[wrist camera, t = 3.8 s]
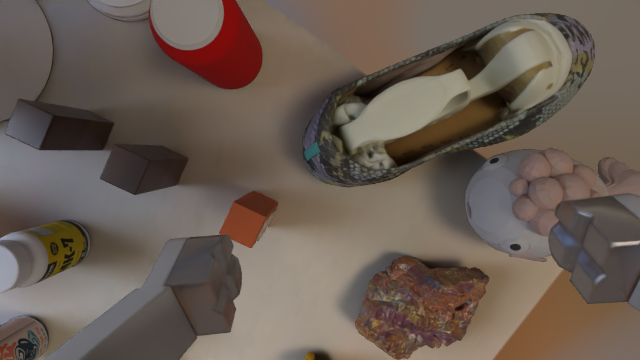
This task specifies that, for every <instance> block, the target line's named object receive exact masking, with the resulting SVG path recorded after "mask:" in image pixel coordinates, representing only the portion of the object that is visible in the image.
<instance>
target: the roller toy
mask: <svg viewBox="0 0 640 360" xmlns="http://www.w3.org/2000/svg"><path fill="white" fill-rule="evenodd" d="M305 360H315V355H314V353H312V352H309V353H307V354H306V357H305Z"/></svg>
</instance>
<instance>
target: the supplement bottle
mask: <svg viewBox="0 0 640 360" xmlns="http://www.w3.org/2000/svg"><path fill="white" fill-rule="evenodd" d="M89 250H90V238H89V234H88V232H87V231H86V230H85V228H84V227H83V226H81V225H80V224H79V223H77V222H74V221H70V220H61V221H57V222H53V223H49V224H45V225H41V226H37V227H33V228H29V229H25V230H21V231H17V232H13V233H10V234H7V235H5V236H3V237H2V238H0V293H2V292H5V291H8V290H11V289H13V288H17V287H27V286H30V285H33V284H36V283H38V282H40V281H42V280H44V279H46V278H49V277H51V276H53V275H55V274H57V273H60V272H62V271H64V270H66V269H68V268H71V267H73V266H75V265H77V264H79V263H80V262H82V261H83V260H84V259H85V258H86V257H87V255H88V253H89Z"/></svg>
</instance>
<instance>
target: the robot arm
mask: <svg viewBox="0 0 640 360" xmlns="http://www.w3.org/2000/svg"><path fill="white" fill-rule="evenodd" d="M52 59H53V44H52V37H51V32H50V29H49V25H48V23H47V20H46V18H45V16H44V14H43V12H42V10H41V8H40V7H39V5H38V4H37V2H36V0H0V121H3V120H7V119H9V118H11V116H12V113H13V111H14V108H15V106H16V103H17V101H18V99H25V100H31V101H35V100H36V99H37V97H38V96H39V95H40V93H41V92H42V90H43V88H44V86H45V85H46V82H47V80H48V77H49V74H50V71H51V66H52ZM554 215H555V216H556V217H557V219H558V220H559V221H558V222H557V223H556V224H555V225H554V226H553V227H552V228H551V229H550V233H549V237H548V242H549V249H550V252H551V254H552V257H553V259H554V260H555V261H556V263H557V264H558V266H559V267H561V268H563V269H565V270H567V271H569V272H571V277H570V282H571V283H572V284H573V286H574V287H575V288H576V290H577V291H578V292H579V294H580V295H581V296H582V297H583V299H584V300H585V301H586V302H587V304H595V303H613V302H628V304H629V305H631V306H632V307H634V308H635V309H637V310H638V311H640V197H639V196H638V195H635V194H632V193H624V194H616V195H607V196H604V197H594V198H584V199H575V200H565V201H561V202H560V203H559V204H558V205H557V207H556V211H555V214H554ZM232 250H233V243H232V241H231V238H230V236H228V235H213V236H200V237H189V238H178V239H171V240H169V241H167V242H166V244H165V246H164V247H163V249H162V251H161V253H160V255H159V257H158V259H157V261H156V262H155V264H154V266H153V268H152V270H151V272H150V274H149V275H148V277H147V279H146V281H145V283H144V285H143V287H142V288H140V289H135V290H134V291H132V292H131V293H130V294H128V295H127V296H126V297H124V298H123V299H122V300H121V301H119V302H118V303H117V304H115V305H114V306H113V307H111V308H110V309H109V310H108V311H106V312H105V313H104V314H102V315H101V316H100V317H98V318H97V319H96V320H95V321H93V322H92V323H91V324H89V325H88V326H87V327H85V328H84V329H83V330H82V331H80V332H79V333H78V334H76V335H75V336H74V337H72V338H71V339H70V340H69V341H67V342H66V343H65V344H63V345H62V346H61V347H59V348H58V349H57V350H56V351H54V352H53V353H52V354H50V355H49V356H48V357H46V358H45V359H44V360H179V359H180V358H181V357H182V355H183V354H184V353H185V352H186V351H187V349H188V348H189V347H190V346H191V344H192V343H193V342H194V341H195V340H196V338H197V337H196V336H200V335H210V334H219V333H228V332H231V328H232V323H233V319H234V315H235V311H236V308H235V305H234V302H233V300H234V299H235V298H236V297H237V296H238V295H239V294H240V290H241V285H242V272H241V266H240V263H239V260H238V258H237V257H235V256H234V255H233V254H231V253H232Z"/></svg>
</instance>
